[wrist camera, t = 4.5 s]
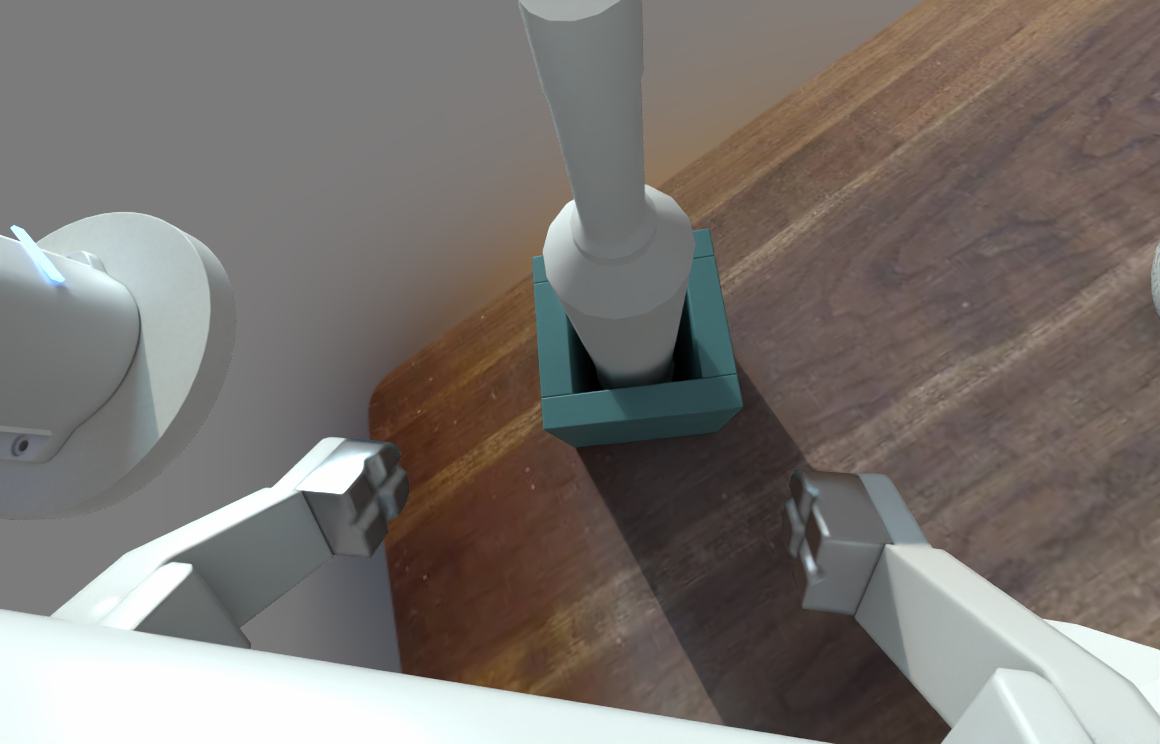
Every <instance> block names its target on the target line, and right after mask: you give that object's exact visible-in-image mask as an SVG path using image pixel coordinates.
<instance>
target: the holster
mask: <svg viewBox="0 0 1160 744" xmlns="http://www.w3.org/2000/svg"><path fill="white" fill-rule="evenodd" d="M692 232H693V235H694V239H695V243H696V246H695V251H694V256H693V261H692V266H691V271H690V276H689V280H688V285H687V290H686V295H685V299H684V304H683V309H682V314H681V318H680V323H679V328H678V333H677V341H678V348H679V354H680V361H681V367H682V373H683V380H684V381H678V382H670V383H662V384H653V385H645V386H637V387H629V388H621V389H612V390H604V391H596V392H592V383H591V373H590V362H589V354H588V352H587V350H586V348H585V346H584V345H583V343H582V341H581V339H580V337H579V335H578V334H577V332H576V330H575V328H574V326H573V324H572V323H571V321H570V319H569V317H568V315H567V313H566V312H565V310H564V308H563V306H562V304H561V302H560V301H559V299H558V297H557V295H556V293H555V292H554V290H553V288H552V286H551V284H550V282H549V281H548V279H547V276H546V270H545V263H544V256H537V257H533V258H532V264H533V279H534V294H535V309H536V324H537V339H538V354H539V369H540V384H541V397H542V413H543V428H544V430H545V431H547V432H549V433H550V434H552V435H554V436H556V437H557V438H559V439H561V440H563V441H564V442H566V443H568V444H569V445H571V446H573V447H575V448H576V447H585V446H595V445H604V444H614V443H623V442H632V441H642V440H651V439H660V438H670V437H679V436H688V435H698V434H707V433H716V432H718V431H719V430H720V429H721V428H722V427H723V426H724V425H725V424H726V423H727V422H728V421H729V420H730V419H731V418H732V417H733V416H734V415H736V414H737V413H738V412H739V411H740V410H741V409H742V408H743V402H742V396H741V391H740V386H739V381H738V376H737V375H736V374H737V370H736V365H735V359H734V354H733V349H732V344H731V338H730V333H729V328H728V322H727V317H726V312H725V307H724V301H723V296H722V291H721V286H720V280H719V275H718V270H717V265H716V259H715V256H714V255H715V254H714V249H713V244H712V239H711V233H710V229H703V230H697V231H692Z"/></svg>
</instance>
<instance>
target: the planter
mask: <svg viewBox="0 0 1160 744" xmlns="http://www.w3.org/2000/svg"><path fill="white" fill-rule="evenodd" d="M1151 286H1152V297H1153V302H1154V305H1155V309H1156V312H1157V314H1158V316H1159V319H1160V242H1159V244H1158V247H1157V249H1156V253H1155V257H1154V261H1153V265H1152V273H1151Z"/></svg>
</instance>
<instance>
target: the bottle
mask: <svg viewBox="0 0 1160 744" xmlns="http://www.w3.org/2000/svg"><path fill="white" fill-rule="evenodd" d="M518 4H519V7H520V11H521V14H522V18H523V22H524V25H525V29H526V33H527V36H528V40H529V43H530V47H531V51H532V54H533V58H534V62H535V65H536V69H537V72H538V76H539V79H540V83H541V87H542V90H543V94H544V97H545V98H546V99H547V100H548V102H549V106H550V109H551V113H552V117H553V120H554V125H555V128H556V132H557V136H558V140H559V144H560V147H561V151H562V155H563V159H564V163H565V166H566V170H567V173H568V177H569V181H570V185H571V189H572V193H573V196H574V200H572V201H571V202H569V203H567V204H566V205H565V207H564V208H563V209H562V211H561V212H560V213H559V215H558V216H557V217H556V218H555V220H554V221H553V222H552V224H551V225H550V227H549V231H548V235H547V238H546V241H545V245H544V249H543V256H544V263H545V270H546V276H547V279H548V281H549V282H550V284H551V286H552V288H553V290H554V292H555V293H556V295H557V297H558V299H559V301H560V302H561V304H562V306H563V308H564V310H565V312H566V313H567V315H568V317H569V319H570V321H571V323H572V324H573V326H574V328H575V330H576V332H577V334H578V335H579V337H580V339H581V341H582V343H583V345H584V346H585V348H586V350H587V352H588V354H589V356H590V357H591V359H592V361H593V363H594V365H595V367H596V373H597V379H598V381H599V383H600V384H601V386H602V387H603V389H604V390H612V389H621V388H629V387H637V386H645V385H653V384H662V383H670V382H672V379H673V373H674V368H675V362H674V357H673V352H674V347H675V342H676V337H677V333H678V328H679V323H680V318H681V314H682V309H683V304H684V299H685V295H686V290H687V285H688V280H689V276H690V271H691V266H692V261H693V256H694V251H695V246H696V243H695V239H694V235H693V232H692V228H691V224H690V220H689V218H688V216H687V215H686V214H685V213H684V212H683V210H682V209H681V208H680V207H679V206H678V204H677V203H676V202H675V201H674V200H673V198H672V197H670V196H668V195H666V194H664V193H662V192H660V191H658V190H656V189H654V188H652V187H650V186H648V185H645V181H644V152H643V124H642V94H641V77H642V74H643V70H644V66H643V25H642V24H643V23H642V0H518Z"/></svg>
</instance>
